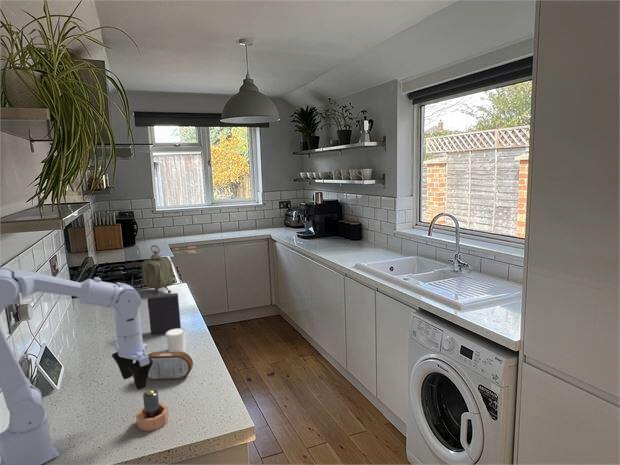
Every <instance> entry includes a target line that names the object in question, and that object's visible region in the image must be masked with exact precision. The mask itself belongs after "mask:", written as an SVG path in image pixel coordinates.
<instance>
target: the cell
mask: <svg viewBox="0 0 620 465" xmlns="http://www.w3.org/2000/svg"><path fill="white" fill-rule="evenodd" d="M158 392H159V391H158V390H156V389H149V390H147V391H145V392H144V393H143V394H142V398H143V407H144V409H145V418H154V417H156V416H158V415H160V410H159V403H160V402H159V400H160V399H159V393H158Z"/></svg>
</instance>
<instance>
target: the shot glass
mask: <svg viewBox="0 0 620 465" xmlns="http://www.w3.org/2000/svg"><path fill="white" fill-rule="evenodd" d="M186 331H187V330H186V329H184V328H183V327H181V328H175V329H171V330H169V331H167V332H166V333H164V334H165V338H166V344H167V349H168V352H176V351H180V352H185V351H186V344H187V343H186V337H187V336H186V333H187V332H186Z"/></svg>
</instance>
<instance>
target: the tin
mask: <svg viewBox="0 0 620 465" xmlns="http://www.w3.org/2000/svg"><path fill="white" fill-rule="evenodd" d="M146 355H147V356H149V359H151V360H153V364H152V366H151V368H150V370H149V373H148V378H147V379H150V380H153V381H154V380H155V381H156V380H157V381H162V380H182V379H185V378H186V377H188V375H189V374H190V373H191V372H192V369H193V366H194V362H193V359H192V356H190V355H189V354H188V353H187V352H185V351H183V352H180V351H176V352H169V351H154V352H149V354H146Z"/></svg>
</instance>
